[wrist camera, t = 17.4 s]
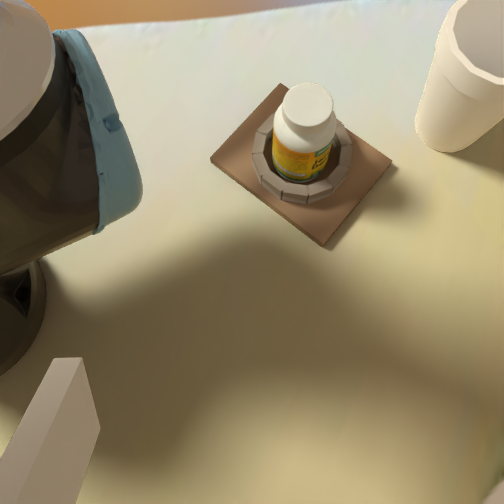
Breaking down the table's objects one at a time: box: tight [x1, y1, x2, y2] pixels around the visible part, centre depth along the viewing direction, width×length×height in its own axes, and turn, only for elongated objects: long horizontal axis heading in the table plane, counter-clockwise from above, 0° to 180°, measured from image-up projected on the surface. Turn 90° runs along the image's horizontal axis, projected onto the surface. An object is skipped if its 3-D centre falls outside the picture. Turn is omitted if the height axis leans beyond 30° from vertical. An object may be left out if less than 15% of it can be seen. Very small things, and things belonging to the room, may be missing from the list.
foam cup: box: [414, 0, 504, 153], centre depth 43 cm, size 10×9×13 cm
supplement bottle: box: [272, 83, 337, 183], centre depth 42 cm, size 5×5×10 cm
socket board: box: [210, 83, 392, 247], centre depth 47 cm, size 14×11×3 cm
